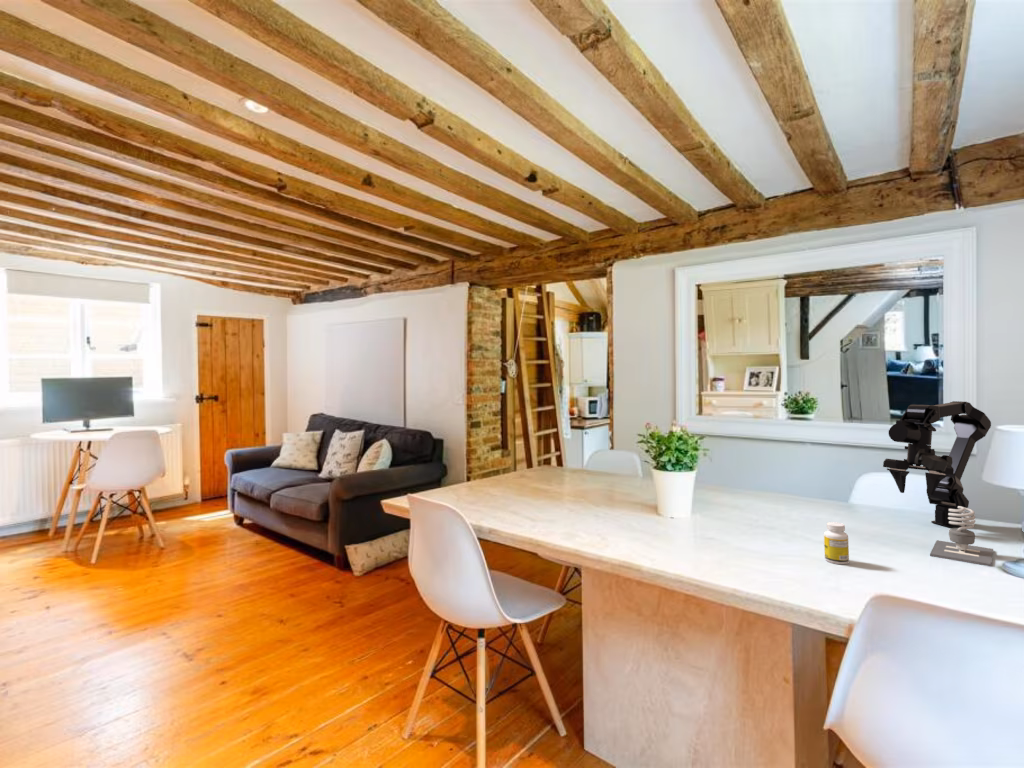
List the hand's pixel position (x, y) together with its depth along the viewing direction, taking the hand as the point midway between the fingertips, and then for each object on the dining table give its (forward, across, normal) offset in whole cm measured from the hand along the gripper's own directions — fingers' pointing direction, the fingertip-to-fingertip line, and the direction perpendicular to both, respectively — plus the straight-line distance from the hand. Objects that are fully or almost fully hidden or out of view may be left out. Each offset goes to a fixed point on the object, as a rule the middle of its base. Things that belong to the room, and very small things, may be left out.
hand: (916, 494), depth 162 cm
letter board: (+13, -5, -22) cm, 25 cm away
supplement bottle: (+18, -41, -24) cm, 51 cm away
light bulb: (+12, -5, -21) cm, 25 cm away
